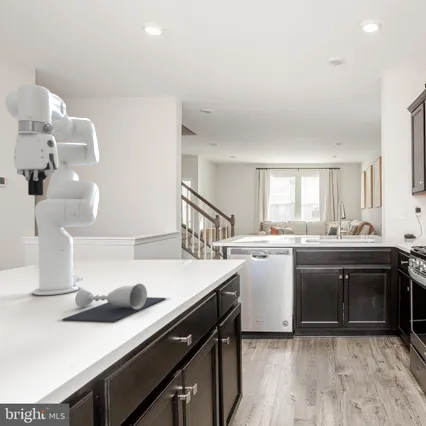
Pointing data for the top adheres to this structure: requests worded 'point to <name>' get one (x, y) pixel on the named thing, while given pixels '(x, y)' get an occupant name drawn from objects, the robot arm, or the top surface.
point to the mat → (109, 312)
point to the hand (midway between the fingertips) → (35, 195)
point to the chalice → (116, 297)
